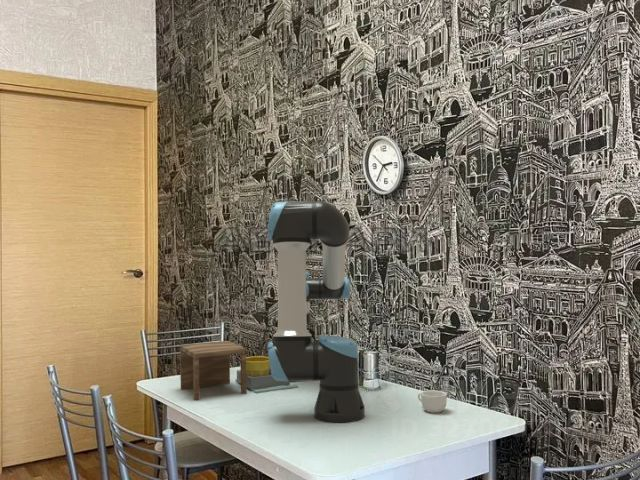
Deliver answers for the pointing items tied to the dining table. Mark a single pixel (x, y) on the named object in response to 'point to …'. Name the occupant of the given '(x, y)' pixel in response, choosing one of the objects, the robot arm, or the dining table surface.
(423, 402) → the teacup
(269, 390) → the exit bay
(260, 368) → the plant pot
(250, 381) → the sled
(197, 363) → the tunnel
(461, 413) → the dining table surface
